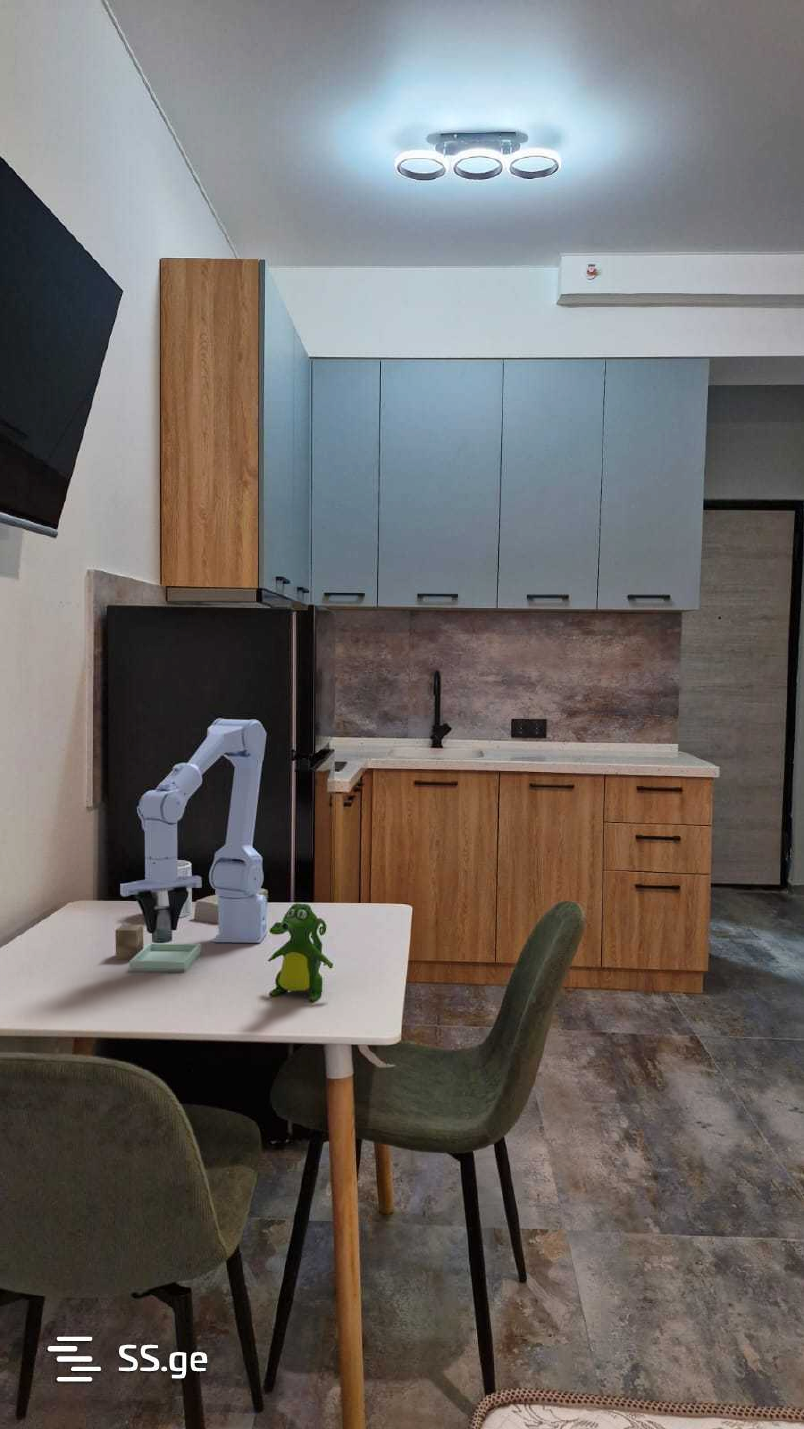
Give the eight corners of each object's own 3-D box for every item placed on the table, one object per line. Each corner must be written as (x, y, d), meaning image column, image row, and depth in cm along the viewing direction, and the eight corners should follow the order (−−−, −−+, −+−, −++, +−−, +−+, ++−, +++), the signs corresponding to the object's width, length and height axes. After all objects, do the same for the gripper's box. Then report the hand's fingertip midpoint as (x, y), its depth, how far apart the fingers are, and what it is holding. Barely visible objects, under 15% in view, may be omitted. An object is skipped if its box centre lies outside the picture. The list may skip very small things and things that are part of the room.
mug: (202, 909, 226) (201, 861, 226) (178, 923, 214) (177, 871, 214) (159, 907, 228) (158, 859, 228) (133, 920, 217) (132, 869, 216)
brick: (222, 925, 214) (222, 903, 214) (192, 920, 218) (192, 898, 218) (269, 909, 228) (269, 889, 228) (239, 905, 232) (239, 884, 232)
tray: (201, 953, 192) (201, 943, 192) (184, 972, 180) (184, 962, 180) (149, 952, 192) (149, 943, 192) (129, 971, 180) (129, 961, 180)
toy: (242, 1006, 162) (241, 914, 161) (295, 972, 180) (295, 889, 179) (308, 1015, 158) (308, 920, 157) (355, 979, 176) (355, 894, 175)
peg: (172, 937, 185) (171, 905, 185) (172, 942, 182) (171, 909, 181) (152, 938, 185) (151, 906, 184) (151, 943, 181) (150, 910, 181)
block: (143, 953, 192) (143, 924, 192) (136, 959, 188) (136, 930, 188) (122, 953, 192) (122, 924, 192) (115, 959, 188) (115, 930, 188)
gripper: (192, 849, 190) (192, 920, 190) (115, 856, 182) (115, 931, 183) (205, 855, 184) (205, 929, 184) (126, 863, 176) (127, 939, 177)
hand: (161, 930), depth 183 cm, fingers closed on peg, 3 cm apart
